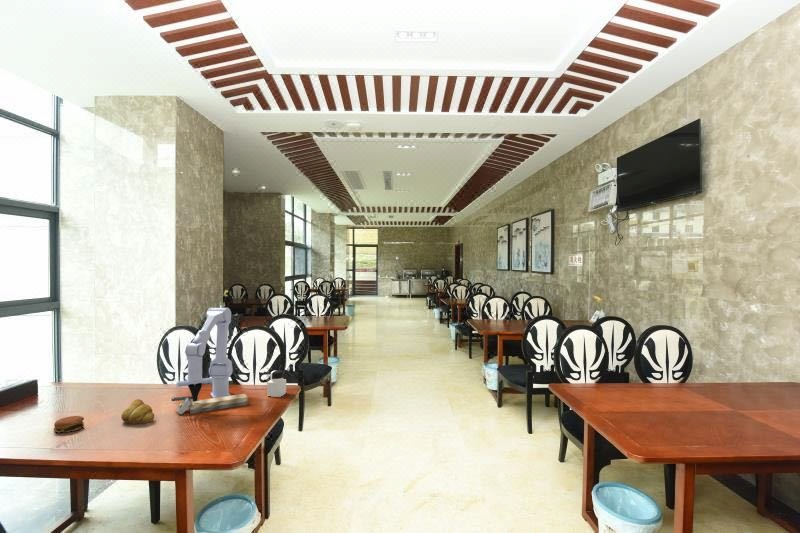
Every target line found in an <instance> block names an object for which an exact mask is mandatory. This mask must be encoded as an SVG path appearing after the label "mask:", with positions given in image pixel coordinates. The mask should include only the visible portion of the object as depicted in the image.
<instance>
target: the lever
mask: <svg viewBox="0 0 800 533" xmlns="http://www.w3.org/2000/svg"><path fill="white" fill-rule="evenodd" d="M186 398H189V399H190V400H193V398H192V395H187V396H186V395H185V396H178V397H177V396H176V397H171V402H176V401H184V400H185V399H186ZM197 400H199V398H198V397H197Z"/></svg>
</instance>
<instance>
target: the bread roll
mask: <svg viewBox="0 0 800 533" xmlns="http://www.w3.org/2000/svg"><path fill="white" fill-rule="evenodd" d="M154 419H155V412H153V408H152V407H151V405H149V404H147V403H145V402H144V401H143V400H142V399H140V398H137V399H135V400H133V401H132V402H131V403H130V406H128V407H127V408H126V409H124V410H123V411H122V413H121V420H122V421H123V422H124V423H129V424H132V425H133V424H146V423H149V422H152V421H154Z"/></svg>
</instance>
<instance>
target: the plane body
mask: <svg viewBox="0 0 800 533" xmlns="http://www.w3.org/2000/svg"><path fill="white" fill-rule="evenodd" d="M248 399H249V398H248V396H247V394H246V393H239V394H234V395H233V394H231V395H230V396H225V397H218V398H213V397H212V398H205V399H198V400H197V401H196V402H193V400H191V401H192V404H191V405H190V406H189V407H188V411H189V414H196V413H204V412H211V411H216V410H223V409H229V408H235V407H240V406H247V404H248V405H249V403H248V401H249V400H248Z"/></svg>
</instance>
